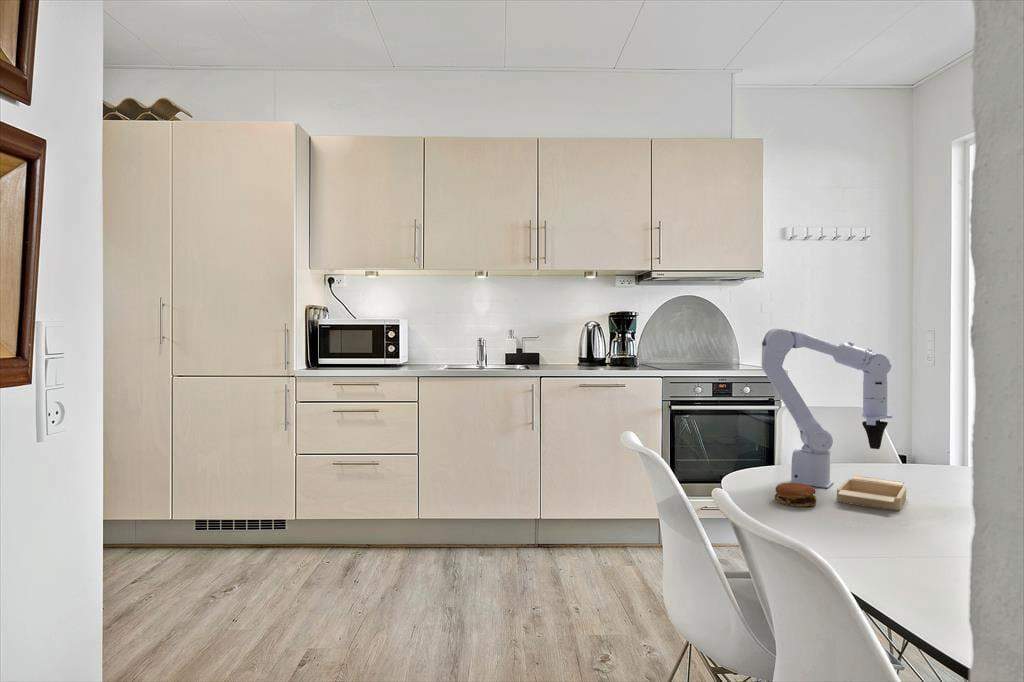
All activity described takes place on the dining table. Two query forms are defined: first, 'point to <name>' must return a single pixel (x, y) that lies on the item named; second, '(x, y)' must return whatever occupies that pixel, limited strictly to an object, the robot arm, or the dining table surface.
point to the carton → (873, 493)
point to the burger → (795, 494)
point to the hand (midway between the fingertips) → (875, 448)
